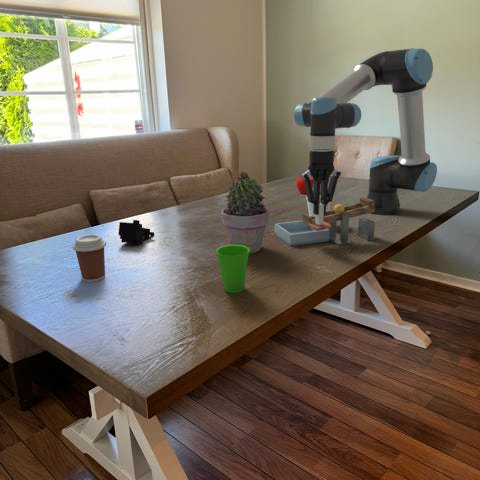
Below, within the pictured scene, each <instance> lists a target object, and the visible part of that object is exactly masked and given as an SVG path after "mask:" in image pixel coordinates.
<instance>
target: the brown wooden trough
mask: <svg viewBox="0 0 480 480" xmlns="http://www.w3.org/2000/svg"><path fill="white" fill-rule="evenodd" d="M343 206H344V205H343ZM331 209H332V210H328V211H326V213H325V214H324V216H323V225H318V224H316V223H315V216H309V214H307V213H305V212H304V213H302V214H301V215H302V221H303V223H304V224H305V225H307V226H309V227H310V228H313V229H314V230H316V231H320V230H324V229H328V230H329V228H331V225H330V224H329V223H332V222H336V221H337V222H339V221H340V222H341V215H346V214H348V215H349V219H351V218H355V217H358V216H362V215H363V216H364V215H367V214H368V215H369V214H373V213H372V212H375V210H374V200H371V199H368V198H367V196H363V197H360V198H359V202H358V203H353V204H349V205H345V206H344V212H341V213H335V212H334V208H331ZM337 222H336V223H337Z"/></svg>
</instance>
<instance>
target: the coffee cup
mask: <svg viewBox="0 0 480 480" xmlns="http://www.w3.org/2000/svg"><path fill="white" fill-rule="evenodd" d="M106 246H107V241H106V240H104V239H103V237H102V236H101V235H100V234H86V235H81V236H78V237H77V238H76V239H75V242H74V243H73V244H72V250H73V251H75V253H76V258H77V262H78V265H79V271H80V274H81V279H82V281H84V282H86V283H87V282H88V283H93V282H98V281H99V282H100V281H101V280H103V279H105V278H106V262H105V247H106Z"/></svg>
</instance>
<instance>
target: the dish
mask: <svg viewBox="0 0 480 480" xmlns="http://www.w3.org/2000/svg"><path fill="white" fill-rule="evenodd" d="M274 235H276V237H277V238H279V239H281V241H283V242H284V243H285V244H287V245H288V246H290V247H294V246H302V245H310V244H317V243H325V242H330V241H329V228H328V229H324V230H320V231H316V230H314V229H313V228H310V227H309V226H307V225H305V224H304V223H303V220H296V221H287V222H286V221H285V222H278V223H274Z"/></svg>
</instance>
